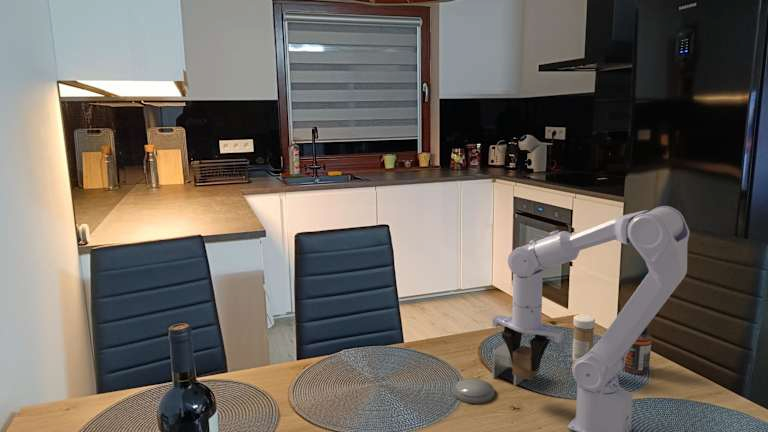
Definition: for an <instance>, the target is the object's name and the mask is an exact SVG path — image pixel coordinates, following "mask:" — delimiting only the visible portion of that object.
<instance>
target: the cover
mask: <svg viewBox="0 0 768 432" xmlns="http://www.w3.org/2000/svg"><path fill="white" fill-rule="evenodd" d="M521 345H522V344H520V346H521ZM510 360H511V356H510V353H509V350H508V347H507V345H506V343H505V342H504V343H503V344H501V345H500V346H498V347H496V348H495V349H494V350H493V351H492V371H491V373H492V374H491V376H492V377H491V378H492V379H496V378H497V377H498V376H499V374H500V373H501V374H503V371H504V370H505V371H506V370H508V369H509V368H510ZM508 367H509V368H508ZM505 371H504V372H505ZM501 374H500V375H501ZM524 379H525V378H522V377H519V376H515V375H513V386H515V387H516V386H518V385H519V384H520V383H521V382H522V381H524ZM520 381H521V382H520ZM519 382H520V383H519ZM518 383H519V384H518Z"/></svg>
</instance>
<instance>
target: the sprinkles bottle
mask: <svg viewBox="0 0 768 432" xmlns="http://www.w3.org/2000/svg"><path fill="white" fill-rule="evenodd" d="M572 324H573V337H572V357H571V358H572V362H571V363H572V365H571V367H573V364H574V362H575V361H576V360H577V359H579V358H581V357H583V356H584V355H585V354H587V353H588V352H589V351H590V350H591V349H592V348H593V347H594V335H595V334H594V333H595V332H594V330H595V327H596V319H595V317H593V316H591V315H588V314H576V315H574V316H573V323H572Z"/></svg>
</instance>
